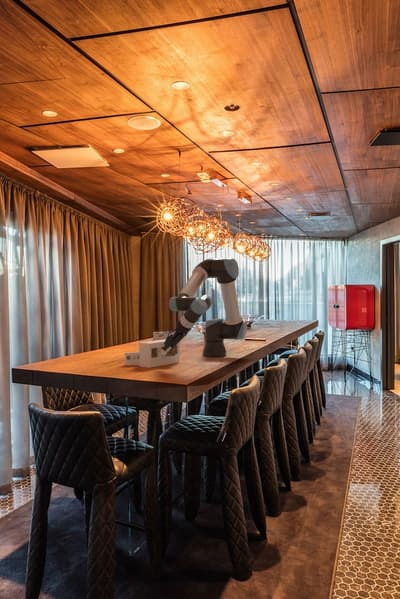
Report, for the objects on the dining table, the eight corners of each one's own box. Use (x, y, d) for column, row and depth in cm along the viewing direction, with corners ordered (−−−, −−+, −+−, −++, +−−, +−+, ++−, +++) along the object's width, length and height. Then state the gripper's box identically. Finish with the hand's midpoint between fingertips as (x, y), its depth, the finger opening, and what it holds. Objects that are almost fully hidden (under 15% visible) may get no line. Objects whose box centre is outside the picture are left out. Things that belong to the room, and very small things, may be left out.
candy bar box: (172, 358, 280) (172, 331, 280) (170, 360, 275) (170, 332, 275) (155, 358, 283) (155, 331, 282) (152, 359, 278) (152, 332, 278)
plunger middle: (163, 354, 261) (163, 346, 261) (174, 355, 255) (174, 347, 255) (157, 355, 258) (157, 347, 258) (169, 356, 252) (169, 348, 252)
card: (143, 364, 259) (143, 352, 259) (143, 364, 257) (143, 352, 257) (125, 365, 257) (124, 352, 257) (125, 365, 256) (124, 352, 256)
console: (169, 360, 272) (169, 338, 271) (179, 362, 267) (179, 339, 266) (139, 366, 253) (139, 342, 253) (149, 367, 248) (149, 343, 248)
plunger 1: (145, 354, 259) (145, 347, 258) (157, 356, 253) (156, 348, 253) (139, 355, 255) (139, 347, 255) (151, 357, 249) (151, 349, 249)
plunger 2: (165, 351, 271) (165, 344, 271) (176, 353, 265) (176, 345, 265) (160, 352, 268) (159, 345, 267) (171, 354, 262) (171, 346, 262)
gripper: (181, 330, 229) (157, 360, 240) (197, 328, 239) (174, 357, 250) (173, 319, 232) (150, 349, 243) (190, 317, 242) (167, 347, 253)
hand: (162, 353), depth 246 cm, fingers closed
